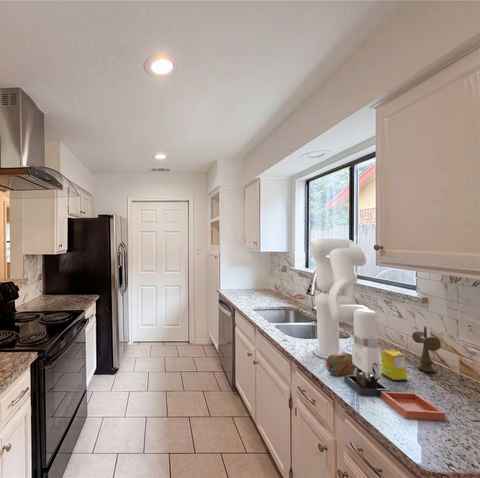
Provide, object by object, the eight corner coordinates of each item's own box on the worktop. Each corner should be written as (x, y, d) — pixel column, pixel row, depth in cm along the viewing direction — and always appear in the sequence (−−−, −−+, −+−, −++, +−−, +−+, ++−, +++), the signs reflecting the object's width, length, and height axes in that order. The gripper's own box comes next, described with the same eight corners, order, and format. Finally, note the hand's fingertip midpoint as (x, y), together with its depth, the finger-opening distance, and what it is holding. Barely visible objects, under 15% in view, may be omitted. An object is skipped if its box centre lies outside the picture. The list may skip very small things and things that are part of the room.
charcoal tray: (344, 380, 111) (344, 374, 111) (371, 382, 110) (371, 376, 110) (360, 395, 100) (360, 388, 100) (391, 397, 99) (390, 390, 99)
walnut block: (356, 383, 108) (355, 371, 108) (369, 384, 107) (369, 372, 107) (364, 390, 103) (363, 377, 103) (377, 391, 102) (377, 378, 102)
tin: (331, 377, 114) (330, 357, 114) (324, 373, 117) (324, 354, 117) (357, 372, 118) (357, 353, 118) (350, 369, 121) (350, 350, 121)
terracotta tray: (380, 397, 99) (380, 391, 99) (415, 399, 97) (414, 392, 97) (406, 418, 87) (405, 410, 87) (445, 420, 86) (445, 413, 86)
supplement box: (393, 373, 116) (393, 349, 116) (407, 381, 110) (406, 354, 110) (380, 374, 116) (380, 349, 116) (393, 381, 110) (393, 355, 110)
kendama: (425, 374, 115) (424, 329, 115) (411, 365, 124) (410, 322, 125) (442, 376, 113) (441, 330, 114) (427, 366, 123) (426, 323, 123)
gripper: (343, 333, 114) (344, 375, 114) (369, 349, 97) (371, 399, 97) (361, 333, 113) (362, 376, 113) (392, 350, 96) (393, 400, 96)
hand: (366, 386), depth 105 cm, fingers closed on walnut block, 5 cm apart
